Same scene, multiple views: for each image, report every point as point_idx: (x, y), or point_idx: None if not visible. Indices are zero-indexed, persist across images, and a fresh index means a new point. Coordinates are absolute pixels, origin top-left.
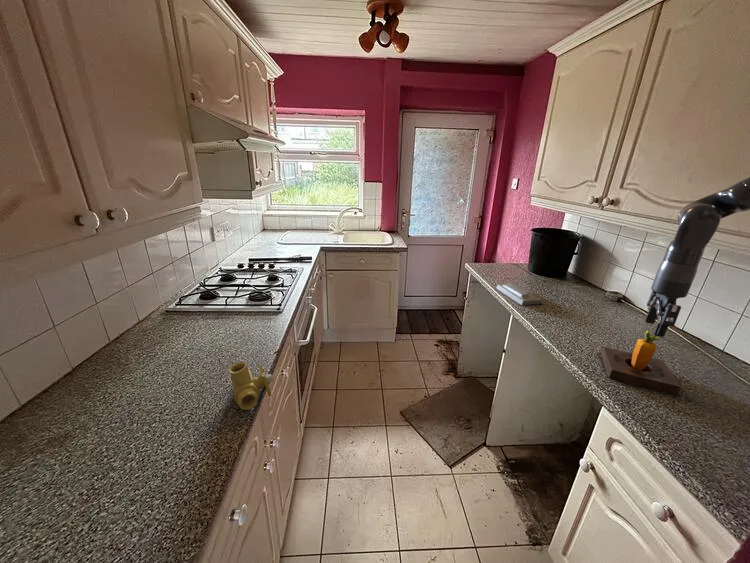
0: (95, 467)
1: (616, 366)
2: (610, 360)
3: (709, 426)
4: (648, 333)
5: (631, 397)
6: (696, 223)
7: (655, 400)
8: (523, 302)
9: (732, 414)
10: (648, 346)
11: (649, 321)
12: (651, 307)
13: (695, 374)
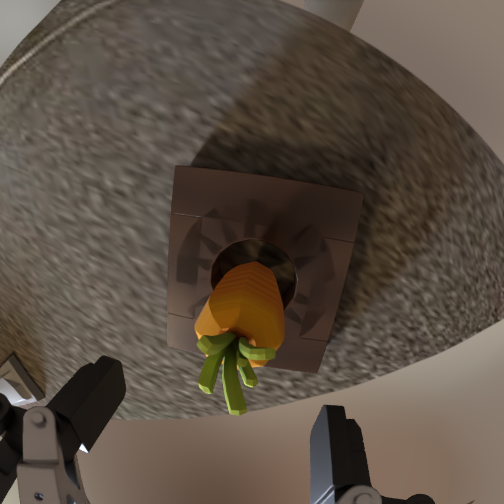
0: None
1: (292, 356)
2: None
3: (460, 182)
4: (245, 404)
5: (392, 327)
6: None
7: (395, 270)
8: (39, 397)
9: (391, 78)
10: (275, 347)
11: (117, 387)
12: (85, 494)
13: (187, 65)
